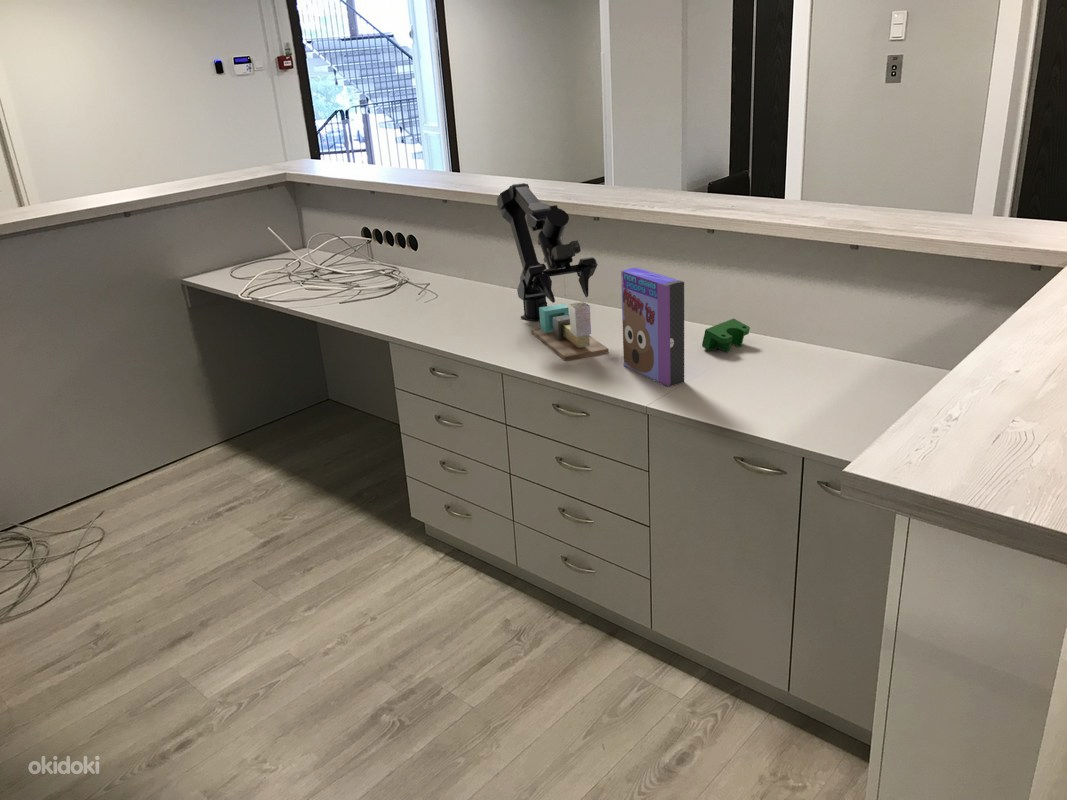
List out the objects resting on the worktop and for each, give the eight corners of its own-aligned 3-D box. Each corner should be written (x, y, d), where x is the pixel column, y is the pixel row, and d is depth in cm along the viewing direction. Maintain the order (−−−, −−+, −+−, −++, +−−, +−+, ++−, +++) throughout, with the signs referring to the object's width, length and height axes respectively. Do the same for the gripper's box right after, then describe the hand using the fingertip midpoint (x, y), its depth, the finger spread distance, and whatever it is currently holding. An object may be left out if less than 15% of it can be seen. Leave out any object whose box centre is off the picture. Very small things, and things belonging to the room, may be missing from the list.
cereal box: (623, 366, 214) (621, 270, 205) (639, 361, 216) (637, 266, 207) (667, 387, 200) (666, 284, 191) (684, 382, 202) (684, 280, 193)
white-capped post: (555, 331, 236) (552, 293, 232) (569, 328, 237) (566, 291, 233) (577, 347, 222) (575, 308, 218) (591, 345, 223) (589, 305, 219)
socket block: (540, 328, 242) (539, 307, 240) (564, 324, 244) (562, 303, 242) (545, 332, 239) (544, 311, 236) (569, 328, 241) (568, 307, 238)
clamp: (721, 368, 220) (719, 343, 214) (703, 358, 224) (700, 333, 217) (752, 341, 224) (751, 315, 217) (734, 331, 228) (732, 305, 221)
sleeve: (553, 336, 236) (552, 317, 233) (572, 333, 237) (571, 314, 235) (559, 340, 232) (557, 321, 230) (577, 337, 234) (576, 317, 231)
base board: (531, 332, 243) (531, 329, 242) (571, 325, 246) (571, 322, 246) (565, 360, 220) (564, 356, 220) (608, 352, 224) (608, 348, 224)
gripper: (525, 236, 221) (543, 288, 216) (593, 226, 227) (612, 277, 221) (517, 260, 231) (534, 311, 226) (582, 250, 237) (600, 299, 231)
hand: (570, 299), depth 226 cm, fingers open, 9 cm apart
